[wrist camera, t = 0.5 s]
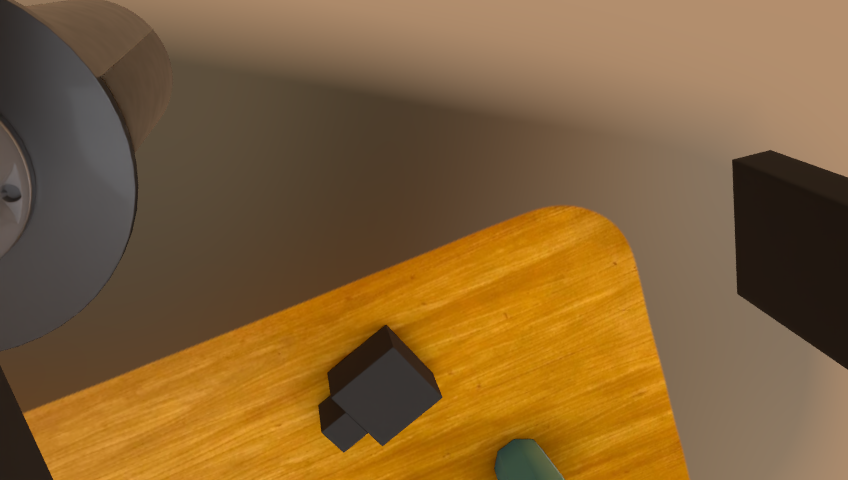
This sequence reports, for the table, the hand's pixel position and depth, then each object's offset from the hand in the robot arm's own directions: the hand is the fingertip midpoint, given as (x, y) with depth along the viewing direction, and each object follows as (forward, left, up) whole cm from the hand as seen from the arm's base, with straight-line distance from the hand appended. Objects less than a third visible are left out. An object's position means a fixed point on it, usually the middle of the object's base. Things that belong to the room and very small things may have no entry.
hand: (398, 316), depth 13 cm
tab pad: (+27, -15, -49) cm, 57 cm away
